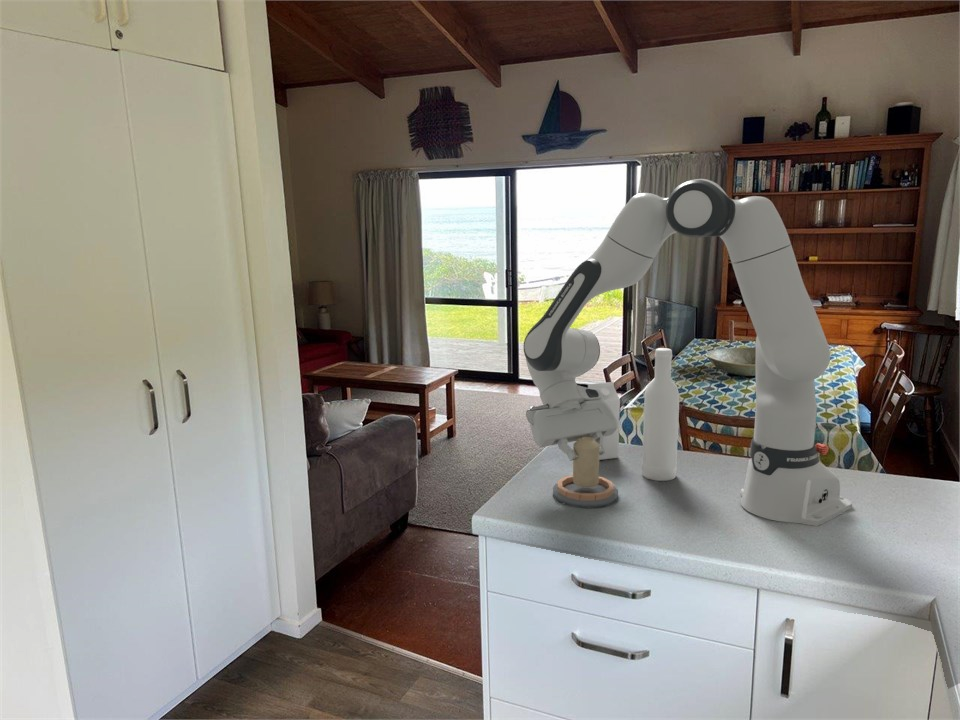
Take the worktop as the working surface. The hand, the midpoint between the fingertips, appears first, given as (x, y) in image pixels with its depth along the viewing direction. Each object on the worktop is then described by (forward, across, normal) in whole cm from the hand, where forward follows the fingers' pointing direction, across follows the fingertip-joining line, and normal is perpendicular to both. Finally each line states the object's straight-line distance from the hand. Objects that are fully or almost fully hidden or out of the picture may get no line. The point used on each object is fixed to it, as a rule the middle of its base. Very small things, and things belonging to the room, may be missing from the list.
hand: (587, 456), depth 142 cm
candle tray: (+6, 0, +7) cm, 9 cm away
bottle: (+5, +22, +8) cm, 24 cm away
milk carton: (-8, +18, +21) cm, 29 cm away
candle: (+4, 0, +5) cm, 6 cm away
